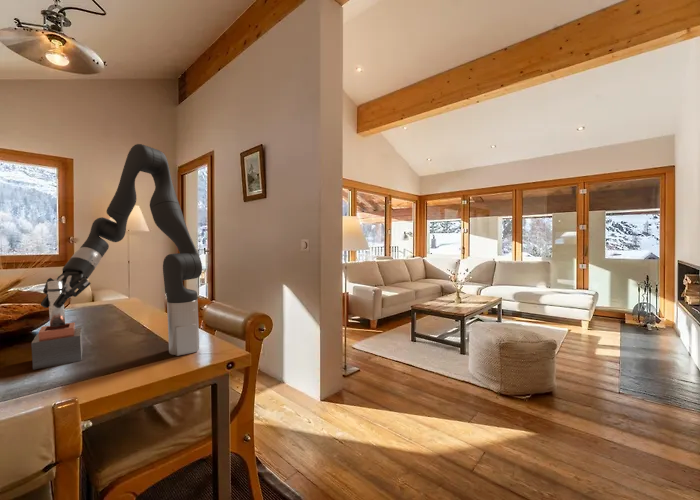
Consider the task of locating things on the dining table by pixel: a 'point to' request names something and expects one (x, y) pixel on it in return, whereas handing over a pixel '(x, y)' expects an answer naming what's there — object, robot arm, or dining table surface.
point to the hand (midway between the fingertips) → (50, 306)
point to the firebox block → (57, 346)
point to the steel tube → (53, 293)
